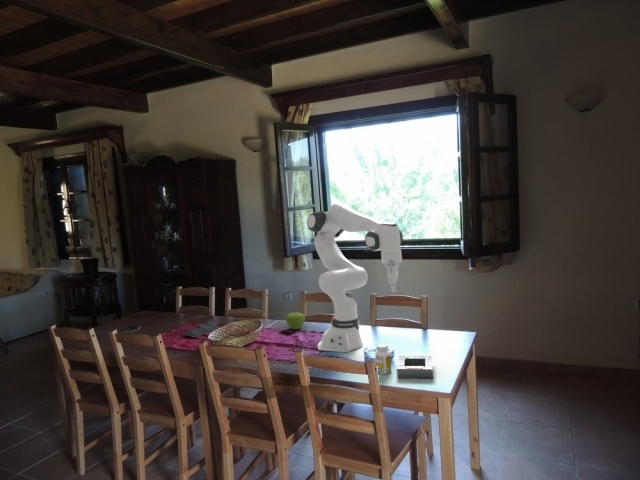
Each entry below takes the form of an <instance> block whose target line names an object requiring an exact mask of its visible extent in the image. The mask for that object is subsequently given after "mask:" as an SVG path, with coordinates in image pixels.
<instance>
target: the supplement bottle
mask: <svg viewBox="0 0 640 480" xmlns="http://www.w3.org/2000/svg"><path fill="white" fill-rule="evenodd" d="M388 349H389V346H388V344H387V343H378V344H377V345H376V350H375V353H374V354H375V355H374V356H375V363H376V362H377V366H378V372H379V373H378V372H377V373H378V374H381V375H386V374H387V375H388V374H389V373H391V372H392V362H391V361H392V359H391V352H390V350H388Z"/></svg>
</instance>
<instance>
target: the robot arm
mask: <svg viewBox="0 0 640 480" xmlns="http://www.w3.org/2000/svg"><path fill="white" fill-rule="evenodd" d="M306 224H307V228H308V230H309V231H311V232H313V233H318V234H317V235H316V236H315V237H314V239H313V241H314V247H315V249H316V252H317V255H318V257H319V259H320V261H321V263H322V265H323V267H324V268H325V269H327V270H328V271H325V272H323V273H321V274H320V276H319V278H318V286H319V288H320V290H321V291H322V292H323V293H325V294H326V295H328V296H329V298H330V299H331V301H332V303H333V310H334V316H333V317H332V318H331V322H330V323H331V324H330V325H331V326H330V327H329V328H328V329H327V330H325V331H324V332H323V334H322V335H321V341H319V342H318V344H317V349H318V350H319V351H325V352H326V351H327V352H328V351H329V352H340V353H348V352H350V351H354V350H357V349H359V348H362V347H363V342H362V338H361V334H360V329H359V328H360V320H359V316H358V308H357V302H356V301H355V300H354V299H353V298H352V297H349V296H348V295H347V291H350V290H351V291H352V290H357V289H359V288H361V287H364V286H366V284H367V283H368V279H369V278H368V277H369V276H368V272H367V271H366V269H365V268H363V267H362V266H359V265H356V264H354V263H353V262H351V261H350V260H348V258H346V257H345V256H344V254H343V253H342V251H341V249H340V247H339V246H338V244H337V242H336V241H335V240H336V239H335V238H339V237H340V235H342V234H343V233H344V231H345V232H349V233H357V232H358V233H360V232H366V234H365V237H364V242H365V243H364V244H365V246H366V248H367V249H368V250H369V251H373V252H378V251H380V256H381V264H383V265H384V267H385V268H386V274H387V284H388V285H390V290H391V293H396V291H397V282H398V276H399V267H400V266H401V265H400V264H401V263H402V262H403V256H402V255H403V254H402V249H401V245H402V243H403V240H404V239H403V238H404V237H403V233H402V231H401V230H400V228H399V225H398V224H397V223H396V222H394V221H383V222H381V221H378V220H376V219H374V218H372V217H369V216H368V215H365V214H362V213H360V212H358V211H356V210H354V209H352V208H351V207H350V206H347V205H345V204H343V203H340V202H339V203H338V202H336V203H334V204H332V205H331V206H330V207H329V209H328V211H324V210H319V211H314V212H311V213H310V214H309V215H308V217H307V220H306Z"/></svg>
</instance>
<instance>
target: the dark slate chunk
mask: <svg viewBox="0 0 640 480" xmlns="http://www.w3.org/2000/svg"><path fill="white" fill-rule="evenodd" d="M219 327H220V326H218V323H217V322H215V321H212V320H208V321H206V322H204V323H201V324H198V325H197V327H196V328H193V329H191V330H189V331H186V332H183V334H182V336H184V335H187V336H194V337H199V336H201V335H203V334H206V333H210V332H212V331H214V330H216V329H217V328H219ZM187 336H186V337H187Z"/></svg>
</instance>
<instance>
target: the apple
mask: <svg viewBox="0 0 640 480" xmlns="http://www.w3.org/2000/svg"><path fill="white" fill-rule="evenodd" d="M305 319H306V317H305V315H304V313H301V312H298V311H296V312H290V313H288V314H287V315H286V317H285V321H286V323H287V325H288V326H289V328H290V329H292V330H294V331H297V329H298V330H300V328H302V327H303V325H304V323H305Z"/></svg>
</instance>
